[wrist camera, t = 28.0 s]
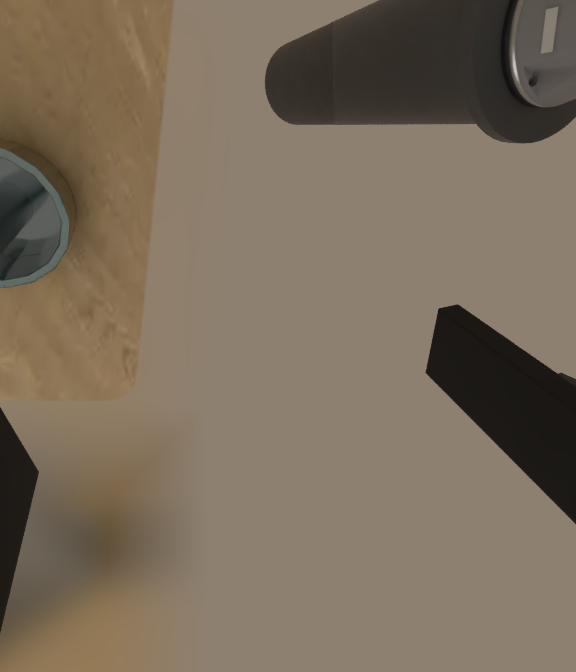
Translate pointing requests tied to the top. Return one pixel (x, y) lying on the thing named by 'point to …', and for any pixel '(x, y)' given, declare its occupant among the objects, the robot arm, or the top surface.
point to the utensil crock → (36, 215)
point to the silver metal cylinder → (12, 213)
